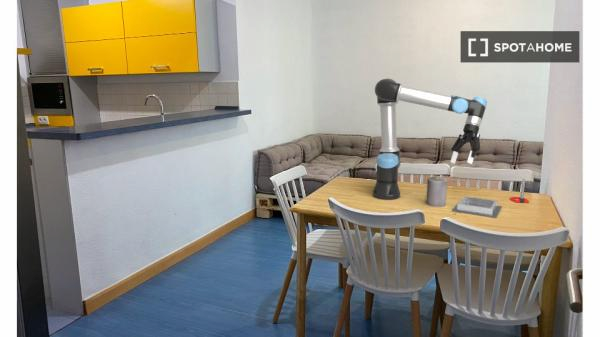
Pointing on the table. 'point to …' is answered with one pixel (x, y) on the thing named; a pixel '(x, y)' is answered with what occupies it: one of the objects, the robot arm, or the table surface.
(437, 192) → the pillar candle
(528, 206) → the table surface
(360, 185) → the table surface
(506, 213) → the table surface
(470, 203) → the square socket
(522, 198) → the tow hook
